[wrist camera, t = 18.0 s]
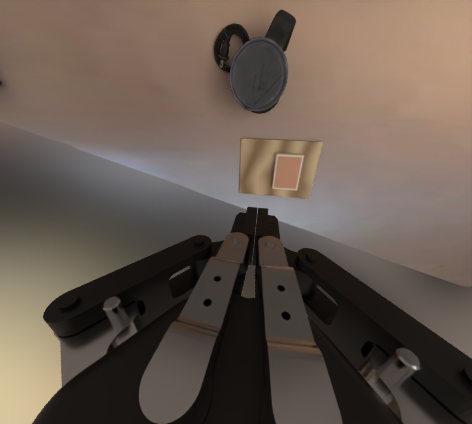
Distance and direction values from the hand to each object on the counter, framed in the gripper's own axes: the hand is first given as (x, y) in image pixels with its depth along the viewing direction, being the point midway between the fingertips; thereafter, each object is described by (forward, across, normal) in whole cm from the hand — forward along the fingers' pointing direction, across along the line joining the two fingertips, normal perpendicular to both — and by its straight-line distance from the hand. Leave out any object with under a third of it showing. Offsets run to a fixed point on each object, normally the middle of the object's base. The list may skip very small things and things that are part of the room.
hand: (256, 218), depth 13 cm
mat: (+37, -4, +5) cm, 38 cm away
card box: (+35, -3, +5) cm, 36 cm away
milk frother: (+37, +5, -15) cm, 41 cm away
